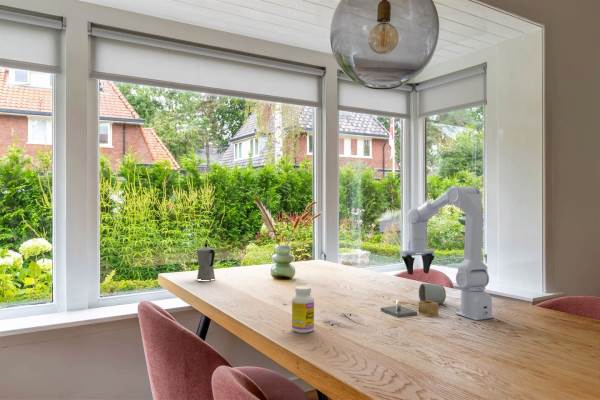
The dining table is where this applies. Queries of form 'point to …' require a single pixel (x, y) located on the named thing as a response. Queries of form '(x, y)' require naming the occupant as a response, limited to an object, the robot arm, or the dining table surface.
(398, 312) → the flat gray rectangular block
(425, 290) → the ceramic mug
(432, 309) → the wooden block with hole
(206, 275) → the coffeepot
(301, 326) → the supplement bottle
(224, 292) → the dining table surface
